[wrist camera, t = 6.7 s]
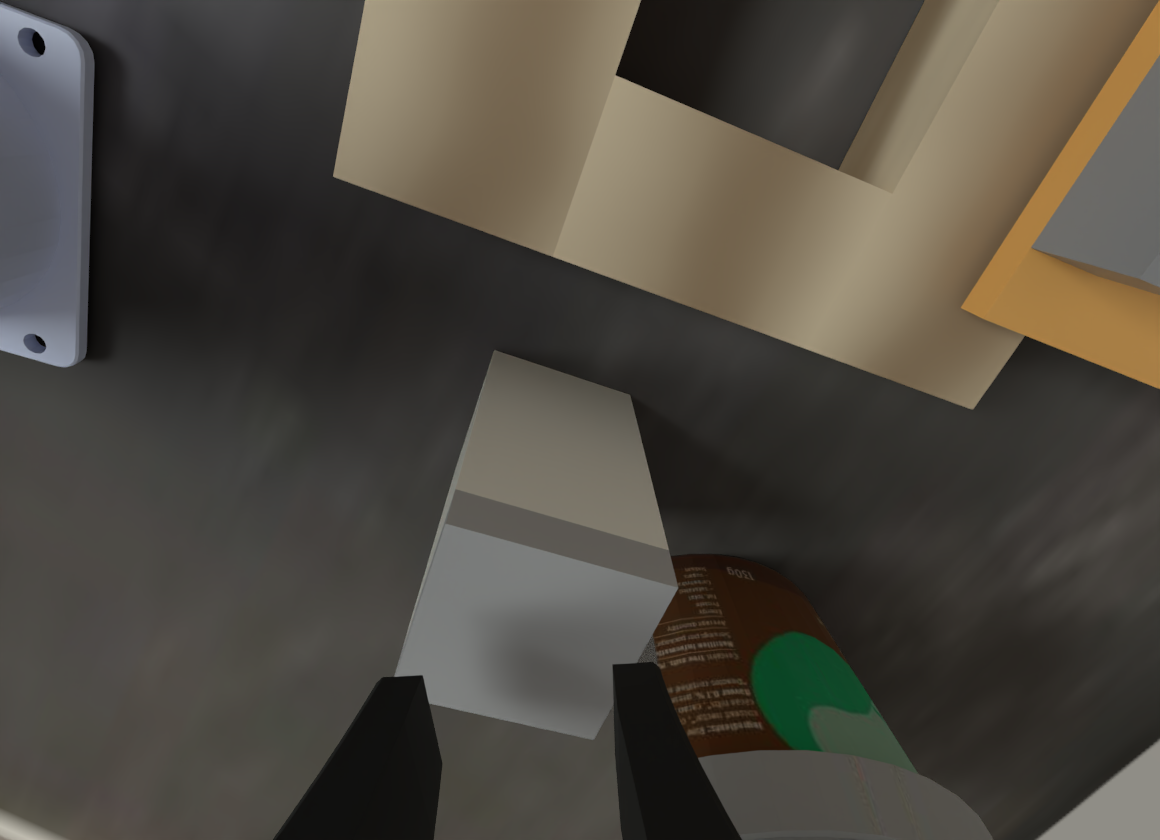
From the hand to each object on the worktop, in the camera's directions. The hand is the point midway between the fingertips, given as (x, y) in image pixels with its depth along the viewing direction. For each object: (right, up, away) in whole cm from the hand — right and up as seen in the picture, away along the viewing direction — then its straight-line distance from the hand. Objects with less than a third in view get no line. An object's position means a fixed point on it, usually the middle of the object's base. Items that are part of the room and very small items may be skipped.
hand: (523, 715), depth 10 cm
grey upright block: (0, +4, +8) cm, 9 cm away
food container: (+7, -3, +12) cm, 15 cm away
